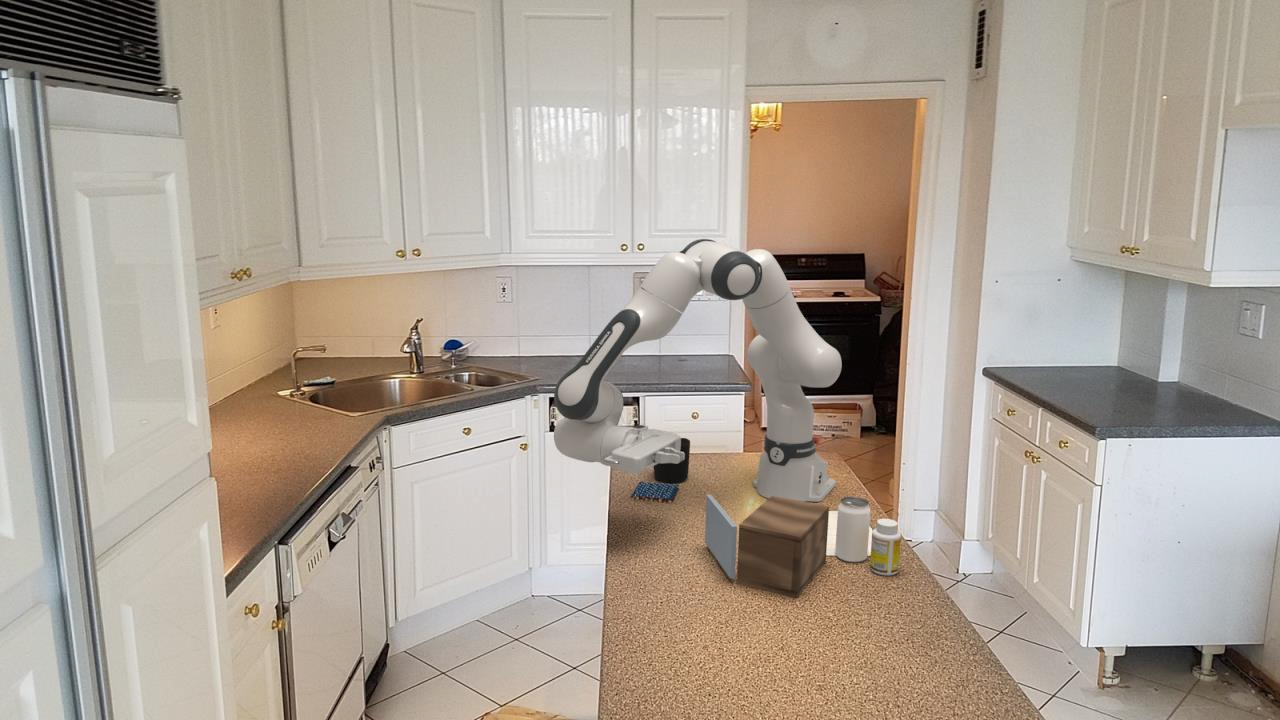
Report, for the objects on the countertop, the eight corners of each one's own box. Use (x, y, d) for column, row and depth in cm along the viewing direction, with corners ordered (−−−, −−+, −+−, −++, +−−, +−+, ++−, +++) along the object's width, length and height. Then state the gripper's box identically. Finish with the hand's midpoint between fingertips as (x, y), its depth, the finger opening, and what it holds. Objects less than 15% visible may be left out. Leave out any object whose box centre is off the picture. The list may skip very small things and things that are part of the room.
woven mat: (637, 487, 227) (637, 479, 227) (679, 491, 225) (679, 483, 225) (629, 502, 217) (629, 494, 217) (672, 505, 215) (673, 497, 215)
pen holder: (671, 470, 239) (671, 433, 237) (696, 479, 232) (697, 441, 230) (644, 477, 233) (645, 440, 231) (670, 487, 226) (671, 448, 224)
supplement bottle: (894, 564, 183) (897, 517, 181) (901, 577, 178) (905, 527, 176) (866, 564, 183) (869, 516, 181) (873, 576, 178) (876, 527, 176)
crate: (769, 550, 189) (772, 495, 187) (825, 562, 184) (829, 506, 181) (736, 583, 174) (739, 524, 171) (797, 597, 168) (800, 537, 166)
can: (843, 547, 191) (847, 493, 189) (872, 556, 187) (876, 500, 185) (829, 557, 186) (832, 501, 184) (858, 566, 182) (862, 509, 180)
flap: (704, 542, 190) (706, 494, 188) (709, 541, 190) (711, 494, 188) (730, 578, 173) (732, 526, 171) (735, 578, 174) (737, 526, 171)
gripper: (598, 445, 183) (659, 456, 177) (645, 422, 201) (702, 432, 195) (597, 474, 184) (658, 487, 178) (644, 450, 202) (701, 460, 196)
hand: (681, 458), depth 186 cm, fingers closed
